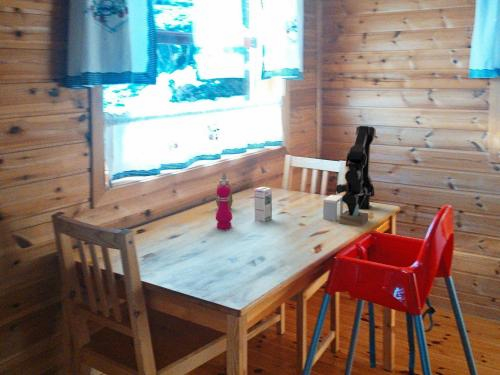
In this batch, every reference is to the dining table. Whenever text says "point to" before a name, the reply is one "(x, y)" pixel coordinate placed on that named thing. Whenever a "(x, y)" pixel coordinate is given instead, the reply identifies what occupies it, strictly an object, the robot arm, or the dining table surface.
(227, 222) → the pepper mill
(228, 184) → the squeeze bottle
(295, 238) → the dining table surface
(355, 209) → the peg
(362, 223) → the socket
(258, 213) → the syrup box
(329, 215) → the small white footstool
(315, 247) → the dining table surface
